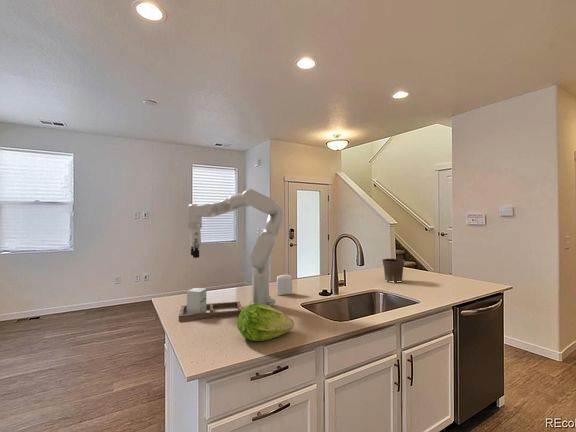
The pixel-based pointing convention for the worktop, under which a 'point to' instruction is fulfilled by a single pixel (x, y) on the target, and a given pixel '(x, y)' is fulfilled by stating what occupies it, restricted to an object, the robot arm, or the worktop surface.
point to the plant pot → (393, 269)
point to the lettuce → (263, 322)
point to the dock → (211, 311)
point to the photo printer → (284, 284)
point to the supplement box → (196, 301)
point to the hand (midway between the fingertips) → (195, 256)
